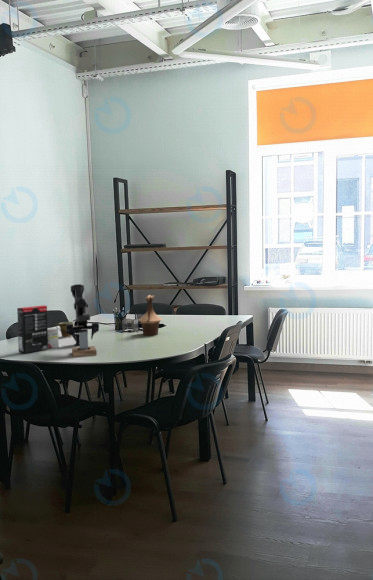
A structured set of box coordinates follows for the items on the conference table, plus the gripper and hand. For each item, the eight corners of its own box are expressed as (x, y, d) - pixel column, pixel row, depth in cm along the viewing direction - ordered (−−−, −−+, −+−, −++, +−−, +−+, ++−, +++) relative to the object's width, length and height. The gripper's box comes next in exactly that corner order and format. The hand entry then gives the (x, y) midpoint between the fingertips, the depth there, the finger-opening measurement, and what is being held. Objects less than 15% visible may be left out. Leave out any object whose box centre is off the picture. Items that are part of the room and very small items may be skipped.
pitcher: (161, 336, 344) (160, 295, 341) (137, 336, 344) (135, 296, 342) (163, 332, 361) (162, 293, 359) (140, 332, 362) (138, 294, 359)
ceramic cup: (76, 335, 356) (75, 321, 356) (71, 338, 346) (71, 323, 346) (58, 335, 358) (58, 321, 357) (53, 338, 348) (52, 324, 347)
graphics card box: (42, 348, 310) (40, 304, 308) (49, 349, 306) (47, 305, 304) (18, 353, 297) (15, 307, 295) (24, 354, 293) (22, 308, 291)
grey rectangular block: (80, 353, 291) (79, 331, 290) (87, 352, 292) (86, 330, 291) (80, 355, 286) (79, 332, 285) (88, 354, 287) (87, 332, 286)
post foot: (72, 352, 294) (71, 347, 293) (94, 351, 297) (94, 346, 297) (73, 357, 281) (73, 351, 281) (96, 355, 285) (96, 349, 284)
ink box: (44, 348, 310) (43, 329, 309) (44, 347, 315) (43, 328, 314) (58, 347, 313) (58, 328, 312) (58, 345, 317) (57, 327, 317)
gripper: (65, 310, 288) (67, 332, 279) (97, 308, 293) (100, 330, 284) (65, 322, 297) (67, 344, 287) (97, 320, 302) (99, 341, 292)
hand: (83, 339), depth 287 cm, fingers open, 9 cm apart
